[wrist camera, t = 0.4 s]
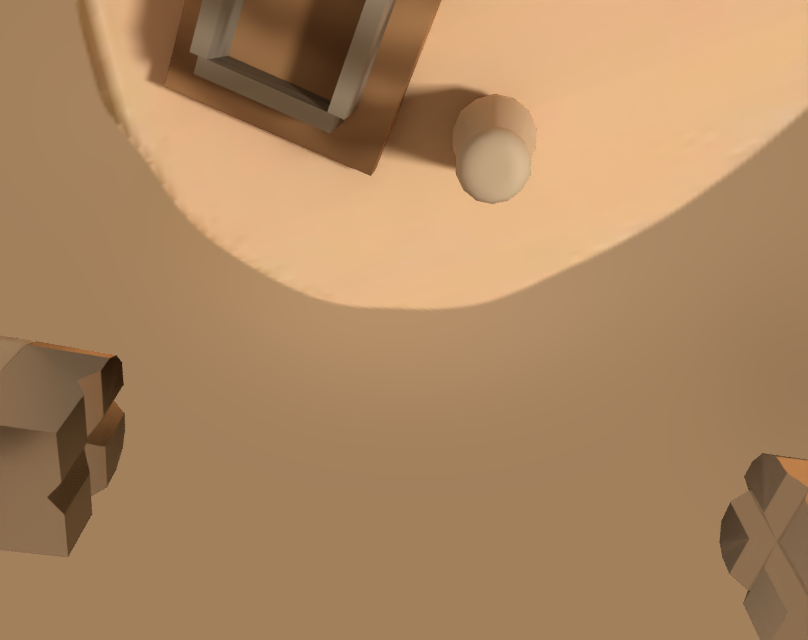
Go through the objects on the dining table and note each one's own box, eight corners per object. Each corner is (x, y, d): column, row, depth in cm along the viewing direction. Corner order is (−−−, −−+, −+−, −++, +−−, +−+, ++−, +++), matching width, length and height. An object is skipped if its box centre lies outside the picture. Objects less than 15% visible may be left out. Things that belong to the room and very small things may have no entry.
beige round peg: (446, 162, 53) (429, 207, 41) (463, 83, 51) (452, 106, 39) (523, 180, 53) (530, 230, 41) (545, 101, 50) (558, 129, 39)
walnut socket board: (235, -156, 46) (200, -177, 41) (461, -53, 47) (456, -61, 42) (176, 83, 53) (138, 92, 48) (375, 170, 54) (360, 188, 48)
